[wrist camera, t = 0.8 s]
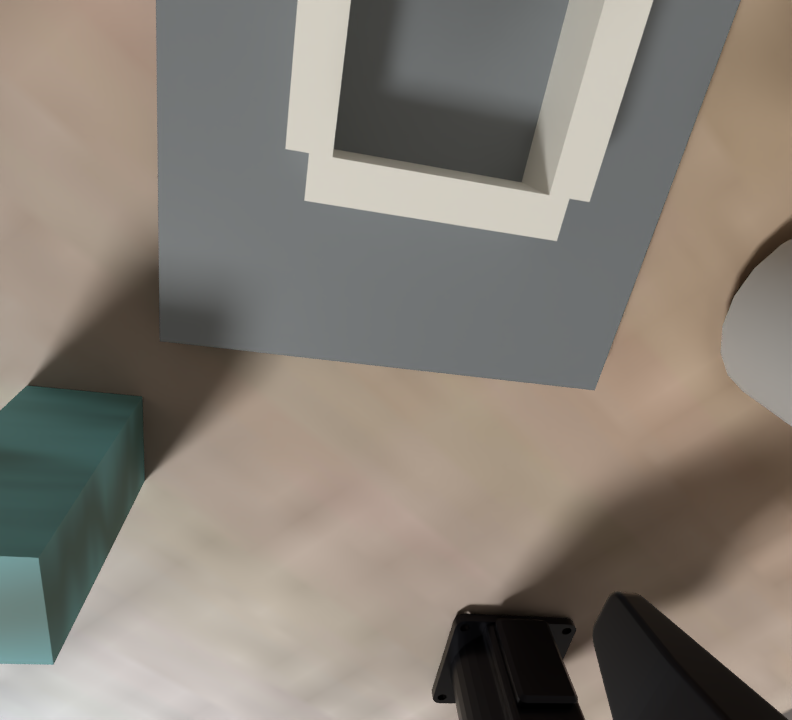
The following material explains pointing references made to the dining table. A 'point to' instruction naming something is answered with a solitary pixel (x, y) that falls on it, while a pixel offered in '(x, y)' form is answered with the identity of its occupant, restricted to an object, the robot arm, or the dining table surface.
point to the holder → (420, 174)
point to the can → (763, 334)
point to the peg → (60, 508)
